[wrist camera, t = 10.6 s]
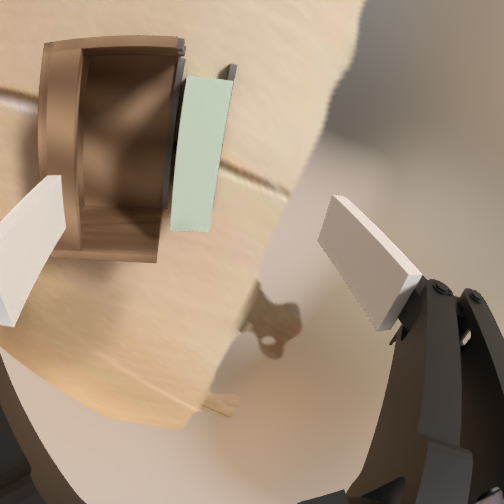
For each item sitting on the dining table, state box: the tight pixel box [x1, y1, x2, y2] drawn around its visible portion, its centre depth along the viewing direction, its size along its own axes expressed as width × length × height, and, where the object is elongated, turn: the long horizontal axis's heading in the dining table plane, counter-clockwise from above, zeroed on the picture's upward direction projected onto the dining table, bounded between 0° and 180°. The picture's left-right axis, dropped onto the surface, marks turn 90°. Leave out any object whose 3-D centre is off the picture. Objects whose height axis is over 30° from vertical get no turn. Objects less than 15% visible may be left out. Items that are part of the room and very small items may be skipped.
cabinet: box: [38, 35, 237, 263], centre depth 23 cm, size 18×16×10 cm
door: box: [170, 76, 234, 232], centre depth 25 cm, size 12×3×10 cm, turn 170°
